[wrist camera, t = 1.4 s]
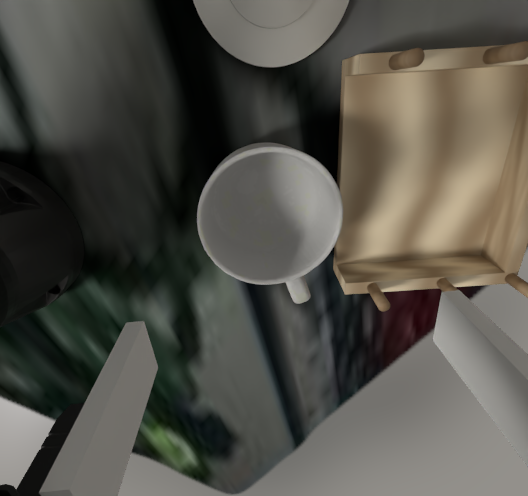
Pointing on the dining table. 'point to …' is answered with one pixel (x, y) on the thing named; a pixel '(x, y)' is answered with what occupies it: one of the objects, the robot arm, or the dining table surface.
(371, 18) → the dining table surface
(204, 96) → the dining table surface
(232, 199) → the teacup
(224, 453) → the dining table surface
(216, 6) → the saucer
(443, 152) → the rack
